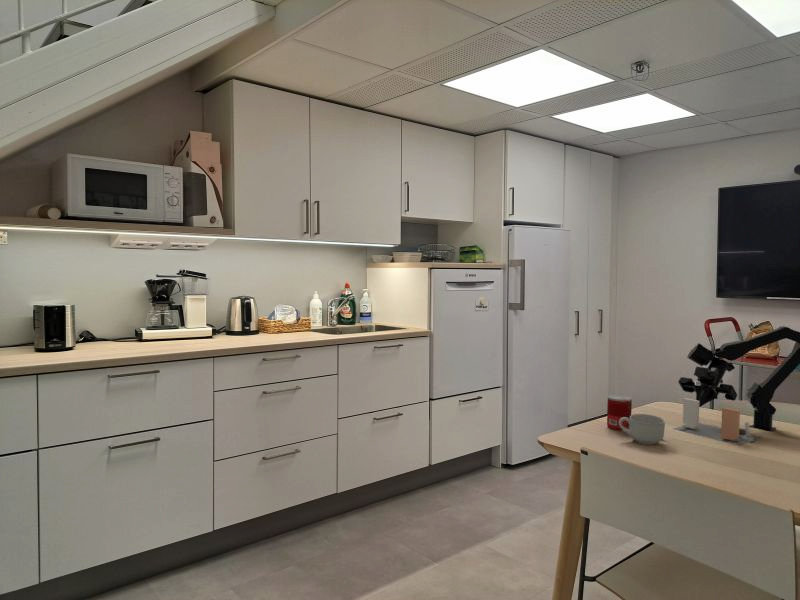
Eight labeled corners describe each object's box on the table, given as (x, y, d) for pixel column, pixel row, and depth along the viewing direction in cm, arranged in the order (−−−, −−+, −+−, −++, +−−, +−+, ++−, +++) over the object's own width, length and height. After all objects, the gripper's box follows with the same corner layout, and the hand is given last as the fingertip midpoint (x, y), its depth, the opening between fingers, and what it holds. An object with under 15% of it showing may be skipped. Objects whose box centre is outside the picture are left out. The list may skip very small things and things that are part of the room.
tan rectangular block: (724, 436, 188) (725, 407, 187) (740, 439, 184) (741, 410, 183) (719, 437, 186) (720, 408, 186) (735, 441, 182) (736, 411, 181)
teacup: (664, 439, 187) (665, 416, 187) (664, 449, 178) (665, 423, 177) (619, 434, 193) (620, 411, 193) (617, 442, 183) (618, 418, 183)
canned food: (632, 431, 197) (633, 400, 196) (608, 429, 199) (609, 398, 198) (628, 425, 204) (629, 395, 204) (605, 424, 206) (606, 394, 206)
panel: (697, 425, 206) (697, 405, 206) (763, 440, 188) (764, 418, 187) (672, 431, 197) (673, 410, 197) (739, 448, 179) (740, 425, 179)
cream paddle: (685, 424, 201) (686, 397, 201) (699, 428, 197) (700, 400, 196) (681, 426, 199) (682, 398, 199) (695, 429, 195) (696, 401, 195)
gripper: (681, 355, 210) (663, 387, 205) (734, 362, 195) (716, 397, 189) (692, 374, 215) (675, 406, 209) (744, 382, 199) (727, 417, 194)
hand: (697, 406), depth 200 cm, fingers closed
